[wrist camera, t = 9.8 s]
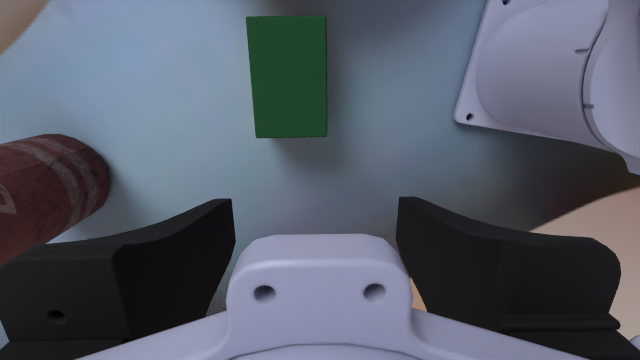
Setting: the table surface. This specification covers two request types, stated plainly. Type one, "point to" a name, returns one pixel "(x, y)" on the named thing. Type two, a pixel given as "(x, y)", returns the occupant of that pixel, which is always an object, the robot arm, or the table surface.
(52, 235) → the can
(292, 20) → the sponge
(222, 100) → the table surface
